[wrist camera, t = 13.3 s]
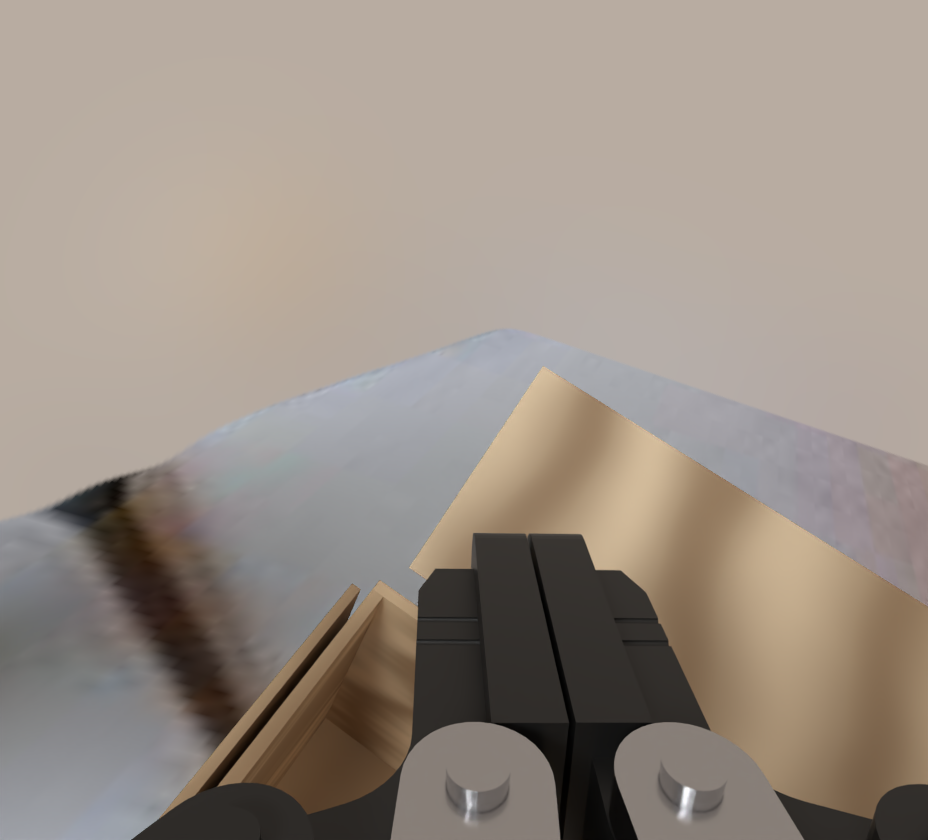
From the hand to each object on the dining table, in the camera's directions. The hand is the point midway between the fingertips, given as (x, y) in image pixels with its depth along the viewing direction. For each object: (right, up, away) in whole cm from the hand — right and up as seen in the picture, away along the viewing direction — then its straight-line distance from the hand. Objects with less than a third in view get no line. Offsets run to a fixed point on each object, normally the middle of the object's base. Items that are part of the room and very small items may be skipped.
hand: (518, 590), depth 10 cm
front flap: (+8, -5, +17) cm, 20 cm away
